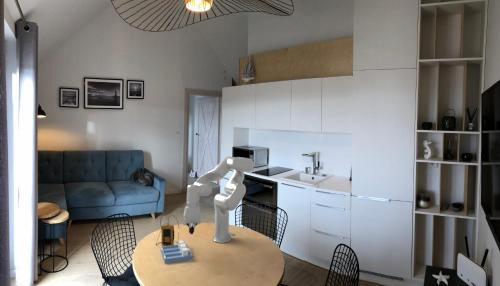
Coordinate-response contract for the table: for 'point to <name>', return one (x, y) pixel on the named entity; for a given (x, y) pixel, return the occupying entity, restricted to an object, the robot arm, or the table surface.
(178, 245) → the white block
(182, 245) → the white rectangular block
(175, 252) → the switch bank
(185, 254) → the white square block
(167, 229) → the multimeter
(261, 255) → the table surface
